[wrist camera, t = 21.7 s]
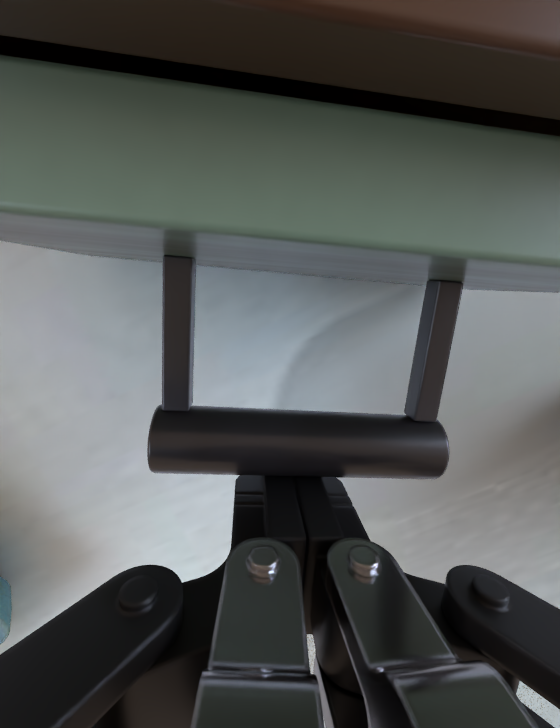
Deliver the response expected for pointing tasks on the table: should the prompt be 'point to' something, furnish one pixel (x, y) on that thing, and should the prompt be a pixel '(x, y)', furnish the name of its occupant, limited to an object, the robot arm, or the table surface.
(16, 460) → the table surface
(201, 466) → the drawer
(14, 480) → the table surface
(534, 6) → the cabinet
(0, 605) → the shallow long dish
